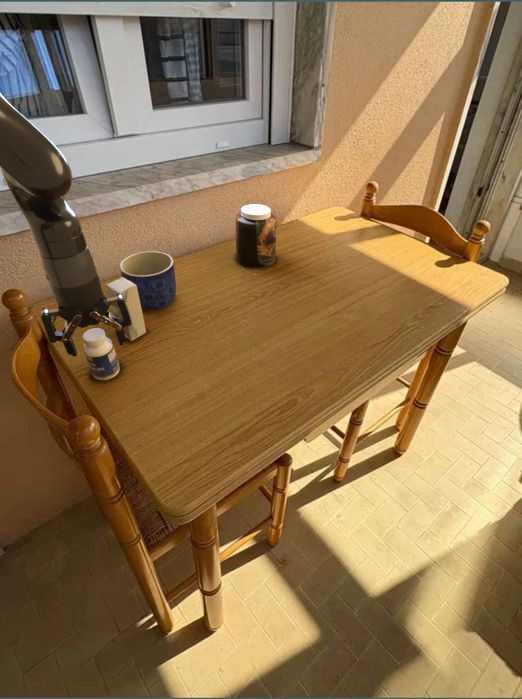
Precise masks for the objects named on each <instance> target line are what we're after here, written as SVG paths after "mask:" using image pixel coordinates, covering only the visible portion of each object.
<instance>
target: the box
mask: <svg viewBox="0 0 522 699" xmlns="http://www.w3.org/2000/svg"><path fill="white" fill-rule="evenodd" d="M106 289H107V293H108V298H112V297H116V294H117V293H122V295H123V297H124V300H125V303H126V306H127V309H128V312H129V315H130V318H131V322H132V324H131V325H130V326H125V327H124V329H123V330H124V333H125V337H126V339H128V340H129V341H130V342H131V341H134V340H135V339H138V338H140V337H141V336H143V335H145V334H146V333H147V329H146V325H145V320H144V314H143V310H142V309H141V305H140V300H139V295H138V290H137V286H136V285H135V284H134V283H132V282H131V281H129V280H127V279H125V278H123V277H122V276H121V277H120V278H118V279H116V280H113V281H111V282H108V283H106ZM111 308H112V311H113V312H112V313H113V315H114V316H116V317H117V318H119V319H120V318H122V314H121V311H120V309H116V308H115V307H114V306H113V305H111Z"/></svg>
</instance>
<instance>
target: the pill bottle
mask: <svg viewBox="0 0 522 699" xmlns="http://www.w3.org/2000/svg"><path fill="white" fill-rule="evenodd" d="M82 340H83V343H84V344H83V346H82V351H83V354H84V357H85V359H86V361H87V364H88V367H89V370H90V373H91V374H92V376H93V378H94V379H96V380H98V381H107V380H110V379H112V378H114V377H116V376H117V375H118V374H119V372H120V371H121V370H120V367H121V366H120V362H119V360H118V356H117V353H116V350H115V347H114V344H113V341H112V340H111V339H110V338H109V337H107V335H106V332H105V330H104V329H102V328H99V327H94V328H90V329H88V330H86V331H85V332H84V333H83V334H82Z"/></svg>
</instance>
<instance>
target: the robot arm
mask: <svg viewBox="0 0 522 699" xmlns="http://www.w3.org/2000/svg"><path fill="white" fill-rule="evenodd" d="M0 171H1V174H2V176H3V179H4V182H5V183H6V185H7V188H8V189H9V191H10V193H11V195H12V197H13V199H14V201H15V202H16V204H17V206H18V208H19V209H20V211H21V213H22V215H23V217H24V219H25V220H26V223H27V224H28V226H29V230H30V233H31V236H32V238H33V241H34V244H35V246H36V249H37V251H38V254H39V257H40V260H41V264H42V268H43V271H44V273H45V278H46V281H48V283H49V286H50V288H51V291H52V293H53V295H54V298H55V301H56V304H57V307H56V308H51V309H50V308H48V307H42V308H41V310H40V319H41V322H42V324H43V327H44V330H45V333H46V335H47V338H48V341H49V342H50V343H52V344H54V343H56V342H61V343H62V344H63V346H64V349H65V351H66V353H67V354H68V355H69V356H72V358H75V357H78V350H77V346H76V345H75V342H74V339H73V337H72V336H73V335H74V334H75V332H76V330H77V328H78V327H79V328H80V329H83V328H87V327H90V326H97V325H100V323H101V324H104V325H105V326H106V327H111V328H112V329H114V330H115V333H116V337H117V341H118V344H119V347H122V346H124V345H125V344H124V343H126V342H127V338H126V337H125V333H124V330H123V329H124V327H125V326H130V325H131V324H132V322H131V318H130V315H129V312H128V309H127V306H126V303H125V300H124V297H123V295H122V293H117V294H116V297H112V298H110V297H106V296H105V293H104V290H103V288H102V284H101V280H100V277H99V274H98V271H97V267H96V264H95V260H94V258H93V255H92V253H91V251H90V249H89V246H88V244H87V240H86V236H85V233H84V231H83V230H84V229H83V227H82V224H81V221H80V219H79V217H78V215H77V213H76V212H75V211H74V210H73V209H72V208H71V207H70V206H69V204H68V203H67V200H66V198H65V196H66V195H67V194H68V193H69V191H70V190H71V188H72V183H73V173H72V169H71V166H70V164H69V162H68V160H67V159H66V157H65V156H64V155H63V153H62V151H61V150H60V149H58V147H57V146H56V145H55V144H54V143H53V142H52V141H51V140H49V138H48V137H47V136H45V134H43V133H42V131H40V130H39V129H38V128H37V127H36V126H35V125H34V124H33V123H32V122H31V121H29V119H28V118H26V116H24V115H23V114H22V113H21V112H20V111H18V110H17V109H16V108H15V107H14V106H13V105H12V104H11V103H10V102H9V101H8V100H7V99H6V97H5V96H3V94H2V92H0ZM112 305H113V306H114V307H115V308H116V309H120V311H121V314H122V318H120V319H119V318H117V317H116V316H115V315H114V313H113V312H111V311H110V310H109V309H110V306H112ZM57 317H59V318H61V319H62V320H64V325H63V327H62V329H61V330H60V331H59V330H57V329H56V326H55V322H56V321H57Z"/></svg>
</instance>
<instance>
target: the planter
mask: <svg viewBox="0 0 522 699" xmlns="http://www.w3.org/2000/svg"><path fill="white" fill-rule="evenodd" d="M119 270H120V274H121V278H122V277H123V278H125V279H127V280H129V281H131V282H132V283H134V284H135V285H136V286H137V290H138V295H139V300H140V305H141V309H142V311H147V312H149V311H150V312H153V311H159V310H163V309H165V308H167V307H169V306H170V305H172V303H173V302H174V301H175V299H176V296H177V282H176V281H177V280H176V272H175V271H176V270H175V264H174V259H173V257H172V256H171V255H169V254H168V253H166V252H161V251H153V250H152V251H151V250H149V251H140V252H137V253H136V252H135V253H133V254H131V255H129V256H127V257H125V258H123V259H122V260H121V261H120V264H119Z"/></svg>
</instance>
